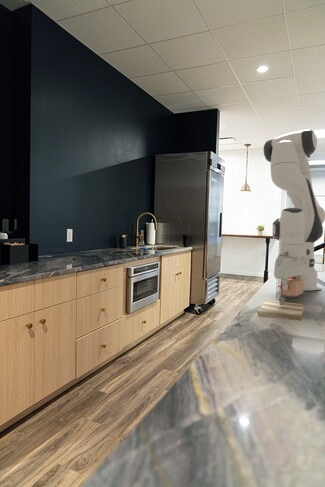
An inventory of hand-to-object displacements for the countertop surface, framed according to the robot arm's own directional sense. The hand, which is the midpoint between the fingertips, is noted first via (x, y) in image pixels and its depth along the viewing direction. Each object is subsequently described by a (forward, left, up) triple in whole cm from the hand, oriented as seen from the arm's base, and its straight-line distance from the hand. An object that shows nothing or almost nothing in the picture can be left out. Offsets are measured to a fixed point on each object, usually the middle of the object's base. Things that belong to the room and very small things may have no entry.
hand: (291, 288), depth 123 cm
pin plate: (+14, -2, -6) cm, 16 cm away
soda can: (-13, -2, -6) cm, 14 cm away
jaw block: (0, 0, -2) cm, 2 cm away
